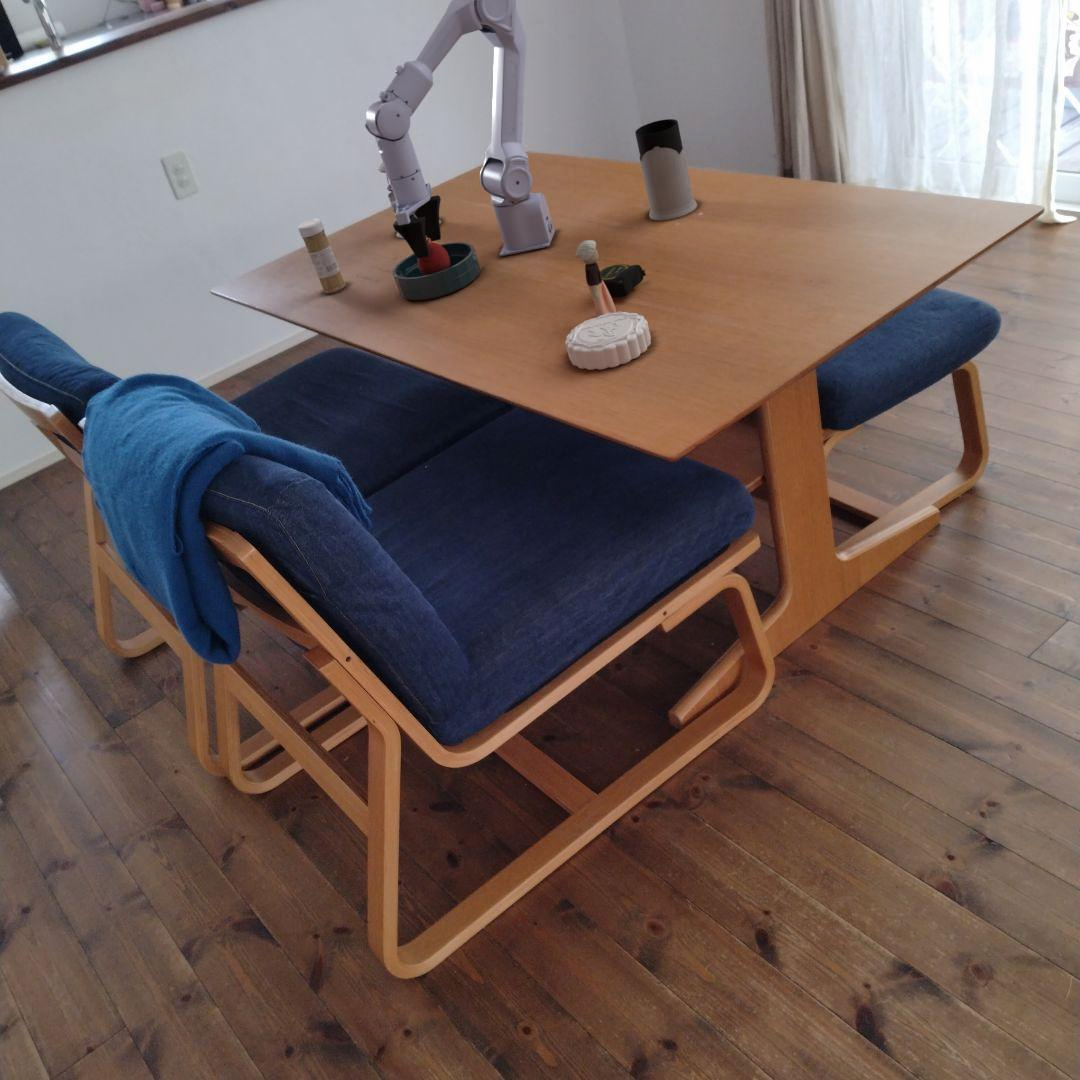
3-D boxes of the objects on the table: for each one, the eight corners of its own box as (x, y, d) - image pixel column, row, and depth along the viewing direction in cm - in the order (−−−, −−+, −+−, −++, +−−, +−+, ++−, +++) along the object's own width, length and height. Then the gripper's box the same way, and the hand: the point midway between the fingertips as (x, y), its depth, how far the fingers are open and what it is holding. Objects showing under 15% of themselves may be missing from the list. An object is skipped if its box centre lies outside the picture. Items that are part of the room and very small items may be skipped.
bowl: (488, 258, 204) (481, 235, 201) (471, 292, 192) (463, 268, 189) (412, 274, 208) (404, 251, 206) (391, 308, 196) (383, 285, 193)
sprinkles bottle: (342, 281, 215) (317, 216, 208) (349, 287, 212) (323, 220, 204) (320, 291, 214) (294, 225, 207) (327, 296, 210) (300, 229, 203)
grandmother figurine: (624, 324, 164) (604, 243, 157) (599, 332, 164) (579, 252, 157) (610, 307, 171) (591, 229, 164) (587, 315, 171) (567, 237, 164)
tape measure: (627, 303, 170) (622, 281, 168) (590, 303, 174) (584, 281, 172) (648, 284, 174) (643, 261, 172) (611, 283, 178) (606, 262, 176)
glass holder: (646, 223, 197) (628, 140, 189) (656, 195, 208) (640, 115, 200) (694, 214, 194) (678, 129, 186) (702, 186, 205) (687, 105, 197)
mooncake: (573, 379, 154) (566, 356, 152) (567, 344, 164) (561, 322, 162) (656, 356, 153) (651, 333, 151) (646, 323, 163) (640, 300, 161)
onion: (450, 284, 196) (436, 242, 192) (421, 290, 198) (406, 248, 194) (458, 271, 201) (445, 229, 197) (429, 276, 203) (416, 235, 198)
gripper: (396, 164, 196) (420, 236, 203) (369, 192, 184) (396, 268, 192) (432, 156, 193) (455, 229, 201) (408, 184, 182) (433, 261, 190)
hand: (429, 248), depth 196 cm, fingers open, 7 cm apart
